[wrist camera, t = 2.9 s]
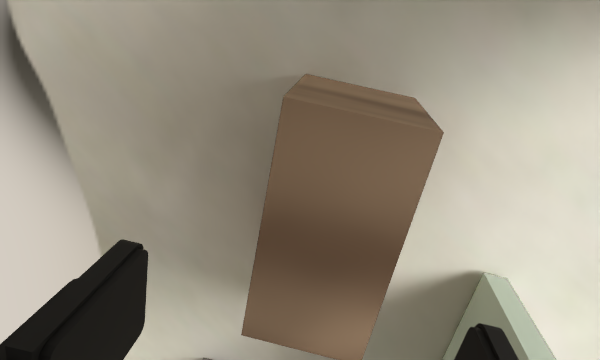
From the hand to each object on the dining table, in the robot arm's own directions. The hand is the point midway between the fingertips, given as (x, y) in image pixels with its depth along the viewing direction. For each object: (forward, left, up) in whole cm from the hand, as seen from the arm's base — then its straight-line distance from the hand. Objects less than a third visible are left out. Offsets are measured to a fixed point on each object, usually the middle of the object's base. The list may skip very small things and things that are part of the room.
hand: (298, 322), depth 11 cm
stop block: (-1, +1, -9) cm, 9 cm away
